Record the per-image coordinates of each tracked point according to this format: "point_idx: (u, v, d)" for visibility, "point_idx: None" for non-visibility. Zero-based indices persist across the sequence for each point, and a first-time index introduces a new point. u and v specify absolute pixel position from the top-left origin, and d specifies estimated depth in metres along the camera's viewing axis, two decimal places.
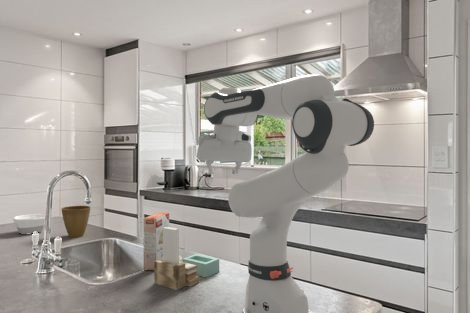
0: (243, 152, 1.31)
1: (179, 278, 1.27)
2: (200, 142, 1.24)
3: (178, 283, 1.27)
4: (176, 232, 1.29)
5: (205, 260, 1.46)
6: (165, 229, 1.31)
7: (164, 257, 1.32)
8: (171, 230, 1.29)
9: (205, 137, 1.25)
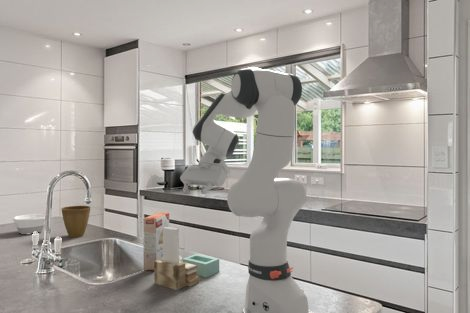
0: (214, 174, 1.40)
1: (179, 278, 1.27)
2: None
3: (178, 283, 1.27)
4: (176, 232, 1.29)
5: (205, 260, 1.46)
6: (165, 229, 1.31)
7: (164, 257, 1.32)
8: (171, 230, 1.30)
9: None
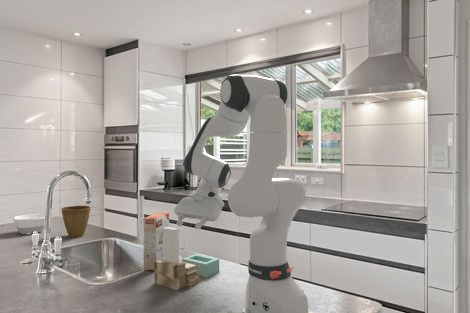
0: (208, 208, 1.38)
1: (179, 278, 1.27)
2: None
3: (178, 283, 1.27)
4: (176, 232, 1.29)
5: (205, 260, 1.46)
6: (165, 229, 1.31)
7: (164, 257, 1.32)
8: (171, 230, 1.30)
9: (187, 198, 1.50)
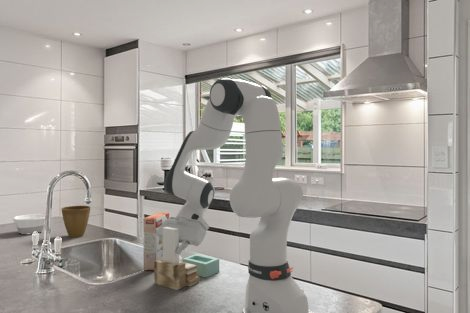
0: (191, 231, 1.30)
1: (179, 278, 1.27)
2: None
3: (178, 283, 1.27)
4: (176, 232, 1.29)
5: (205, 260, 1.46)
6: (165, 229, 1.31)
7: (164, 257, 1.32)
8: (171, 230, 1.30)
9: (170, 219, 1.42)
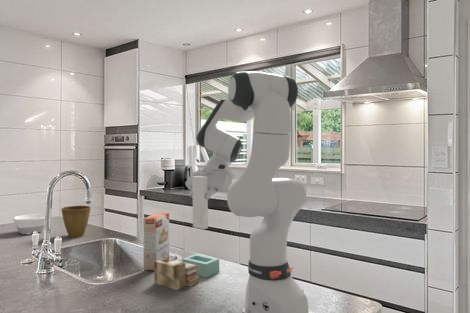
0: (219, 179, 1.43)
1: (179, 278, 1.27)
2: None
3: (178, 283, 1.27)
4: (205, 179, 1.42)
5: (205, 260, 1.46)
6: (195, 177, 1.44)
7: (193, 203, 1.44)
8: (200, 178, 1.42)
9: None
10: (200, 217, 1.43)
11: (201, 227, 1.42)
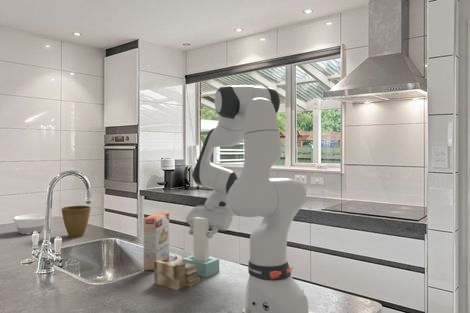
0: (219, 217, 1.43)
1: (179, 278, 1.27)
2: None
3: (178, 283, 1.27)
4: (206, 221, 1.42)
5: None
6: (196, 219, 1.44)
7: (194, 244, 1.45)
8: (202, 220, 1.42)
9: (198, 207, 1.55)
10: (201, 258, 1.43)
11: None
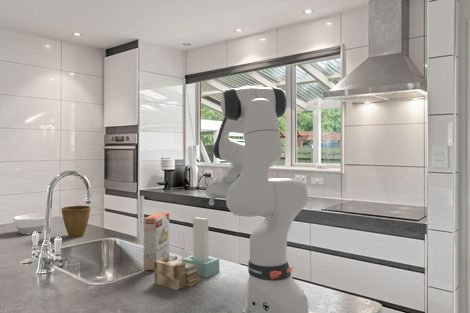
0: None
1: (179, 278, 1.27)
2: None
3: (178, 283, 1.27)
4: (206, 221, 1.42)
5: None
6: (195, 219, 1.44)
7: (194, 245, 1.45)
8: (201, 220, 1.42)
9: None
10: (201, 258, 1.43)
11: None
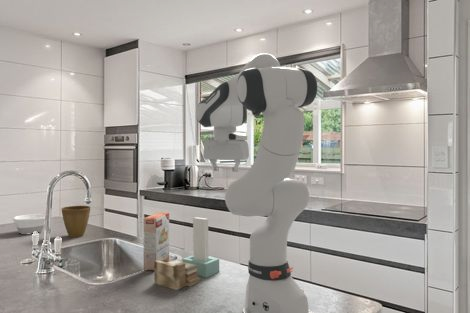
0: (236, 151, 1.39)
1: (179, 278, 1.27)
2: (205, 144, 1.50)
3: (178, 283, 1.27)
4: (206, 221, 1.42)
5: None
6: (195, 219, 1.44)
7: (194, 245, 1.45)
8: (201, 220, 1.42)
9: (208, 140, 1.49)
10: (201, 258, 1.43)
11: None
